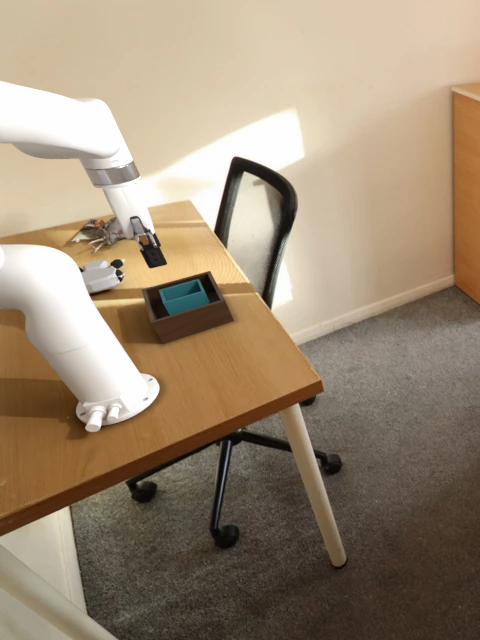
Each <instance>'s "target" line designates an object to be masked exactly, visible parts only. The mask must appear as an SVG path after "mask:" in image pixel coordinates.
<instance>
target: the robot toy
mask: <svg viewBox="0 0 480 640" xmlns="http://www.w3.org/2000/svg"><path fill="white" fill-rule="evenodd" d="M125 262H126V259H125V258H116V259H114V260H112V261H111V262H110V263H109V262H108V261H106V260H104V259H97V260H92V261H89V262H87V263H84V265H83V266H82V267H81V266H78V268H79V269H80V272H81V274H82V277H83V280H84V283H85V286H86V289H87V291H88V293H89V295H90V294H95V293H99V292H102V291H106V290H107V291H108V290H113V289H115V288H117V287H118V286H119V285H120V284H121V282H122V281H123V280H124V277H126V273H125V272H123V271H122V270H121V269H120V268H122V267H123V266H124V263H125Z"/></svg>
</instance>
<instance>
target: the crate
mask: <svg viewBox="0 0 480 640" xmlns="http://www.w3.org/2000/svg"><path fill="white" fill-rule="evenodd" d="M197 279H199V280H200V283H201V285H202V287H203V289H204V291H205V293H206V295H207V297H208V299H209V301H210V304H206V305H203V306H200V307H197V308H193V309H190V310H187V311H183V312H180V313H177V314H174V315H169V313H168V311H167V309H166V308H165V306H164V304H163V301H162V298H161V295H160V292H159V290H161V289H164V288H168V287H172V286H175V285H179V284H182V283H186V282H190V281H193V280H197ZM141 293H142V297H143V301H144V304H145V308H146V311H147V315H148V318H149V321H150V324H151V326H152V328H153V329H154V331H155V333H156V335H157V336H158V338H159V339H160V341H161V343H162V344H163V345H165V344H167V343H171V342H174V341H177V340H180V339H182V338H187V337H189V336H192V335H195V334H198V333H201V332H204V331H207V330H210V329H213V328H216V327H221V326H222V325H225V324H228V323H232V322H234V321H235V319H234V317H233V315H232V312H231V310H230V308H229V306H228V303H227V301H226V299H225V298H224V295H223V293H222V291H221V289H220V287H219V286H218V283H217V282H216V280H215V278H214V276H213V273H212V271H211V270H208V271H204V272H201V273H197V274H193V275H190V276H186V277H182V278H178V279H175V280H171V281H167V282H164V283H160V284H156V285H153V286H149V287H146V288H142V289H141Z"/></svg>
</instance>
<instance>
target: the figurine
mask: <svg viewBox="0 0 480 640" xmlns="http://www.w3.org/2000/svg"><path fill="white" fill-rule="evenodd" d="M122 239H126V237H125V235H124V233H123V231H122V229H121V227H120V225H119V223H118V221H117V219H116V217H115V216H114V217H111V218H110V219H109V220H106V222H105V220H104V219H103V218H101V219H94V218H90V219H89V220H88V221H87V223H85V224H84V225H83V226H82V227H81V228H80V229H79V230H78V231H76V233H75V234H74V235H73V236H72V237H71V238H70V239H69V240H67V244H70V243H72V242H76V243H79V242H82V241H90V242H89V243H88V244H87V245H88V246H91V247H93V248H94V251H93V254H95V253H98V250H99V249H100V248H102V247H103V246H104V245H107V246H114V245H115V244H116V241H118V240H122ZM98 242H100V244H98V246H97V247H95V246H93V245H92V244H94V243H98Z"/></svg>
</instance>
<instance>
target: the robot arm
mask: <svg viewBox="0 0 480 640" xmlns="http://www.w3.org/2000/svg"><path fill="white" fill-rule="evenodd" d="M0 144H11V145H12V146H13V147H14V148H15V149H16V150H18V151H20V152H21V153H23V154H25V155H27V156H30V157H33V158H37V159H44V160H73V159H74V160H78V159H79V162H80V163H81V165H82V167H83V169H84V172H85V173H86V175H87V177H88V178H89V180H90V182H91V184H92V186H93V187H95V188H97V189H101V190H102V192H103V195H104V196H105V198H106V201H107V203H108V205H109V207H110V209H111V211H112V213H113V215H114V217H116V219H117V221H118V223H119V225H120V227H121V229H122V231H123V233H124V235H125V237H126V238H125V239H126V240H132V239H134V238H135V241H136V244H137V246H138V247H139V252H140V253H141V254H140V255H141V256H142V259H144V261H145V263H146V266H147V267H148V268H149V269H156V268H159V267H164V266H167V265H168V262H167V260H166V257H165V255H164V253H163V251H162V249H161V247H162V244H161V242H160V239H159V238H158V236H157V234H156V229H155V227H154V223H153V219H152V217H151V213H150V211H149V209H148V206H147V204H146V201H145V199H144V197H143V194H142V193H141V191H140V189H139V186H138V184H137V183H138V182H140V181H141V180H142V176H141V173H140V171H139V169H138V167H137V165H136V162H135V160H134V158H133V156H132V154H131V151H130V149H129V148H128V145H127V143H126V141H125V139H124V137H123V135H122V133H121V131H120V128H119V126H118V124H117V122H116V120H115V117H114V115H113V113H112V111H111V108H110V107H109V106H108V105H107V103H106V102H105V101H104V100H101V99H100V98H94V97H75V98H71V97H67V96H65V95H61V94H58V93H54V92H50V91H46V90H41V89H37V88H33V87H28V86H24V85H19V84H16V83H11V82H7V81H3V80H0ZM78 267H79V265H78V264H77V263H76V261H75V260H74V259H73V258H72V257H71V256H70V255H68V254H67V253H65V252H64V251H62V250H60V249H57V248H54V247H51V246H46V245H40V244H31V243H30V244H28V243H26V244H25V243H16V244H15V243H13V244H12V243H11V244H10V243H9V244H8V243H7V244H6V243H5V244H3V243H1V244H0V310H17V311H20V312H21V313H23V315H24V318H25V323H24V332H25V335H26V337H27V340H28V341H29V342H30V344H31V345H32V346H33V347H34V349H35V350H36V351H37V352H38V354H40V355H41V357H42V358H43V359H44V360H45V362H46V363H47V364H48V365H49V366H50V367H51V369H52V370H53V371H54V372H55V374H56V375H57V376H58V377H59V378H60V380H61V381H62V382H63V383H64V385H65V386H66V387H67V388H68V389H69V391H70V392H71V393H72V395H74V397H75V398H76V399H77V400H78V403H77V404H76V408H75V414H76V416H77V418H78V419H79V420H80V422H82V423H83V424H85V427H84V429H85V430H86V432H89V433H97V432H99V431H100V430H101V427H102V426H103V427H104V426H110V425H114V424H118V423H121V422H123V421H126V420H128V419H131V418H133V417H135V416H137V415H138V414H140V413H141V412H143V411H145V409H147V408H148V407H150V406H151V404H153V402H154V401H155V400H156V399H157V397H158V395H159V393H160V384H159V382H158V380H157V379H156V378H155V377H154V376H152V375H151V374H147V373H142V372H140V371H139V369H138V368H137V367H136V365H135V364H134V362H133V361H132V359H131V358H130V356H129V355H128V353H127V352H126V350H125V348H124V347H123V345H122V343H120V341H119V340H118V338H117V337H116V335H115V334H114V331H112V329H111V328H110V326H109V325H108V323H107V322H106V320H105V319H104V318H103V316H102V315H101V312H100V311H99V310H98V308H97V307H96V305H95V303H94V301H93V299H92V298H91V296H90V294H89V293H88V291H87V289H86V286H85V283H84V280H83V277H82V274H81V272H80V269H79V268H78Z"/></svg>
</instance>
